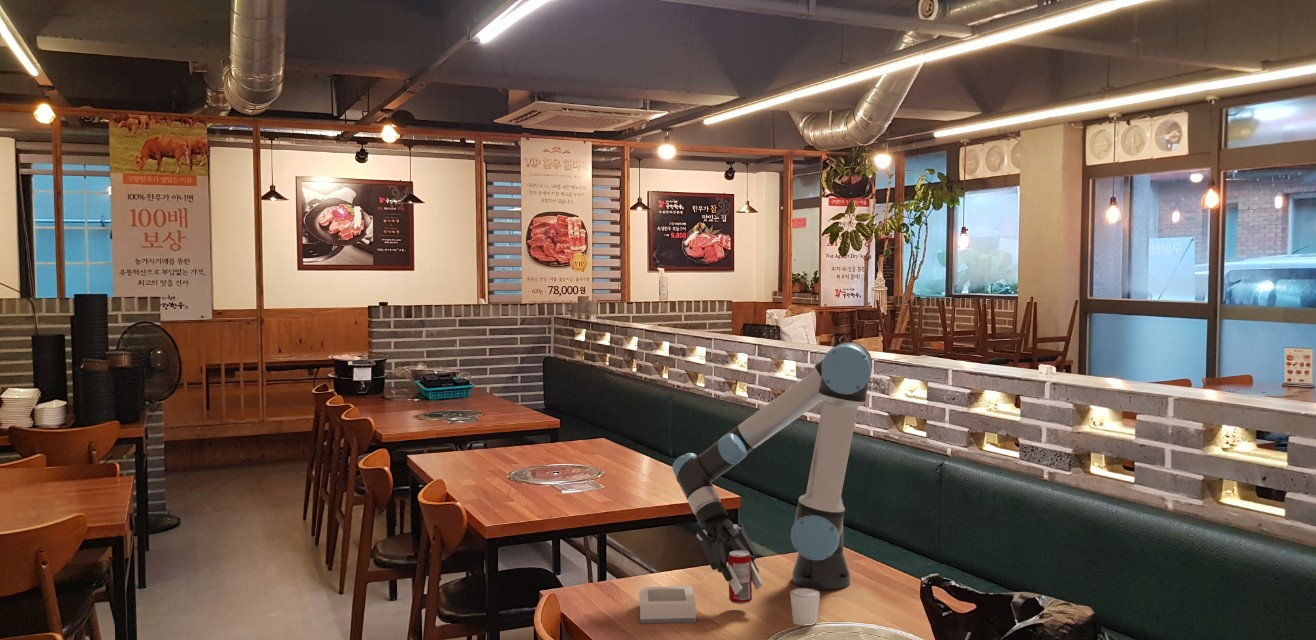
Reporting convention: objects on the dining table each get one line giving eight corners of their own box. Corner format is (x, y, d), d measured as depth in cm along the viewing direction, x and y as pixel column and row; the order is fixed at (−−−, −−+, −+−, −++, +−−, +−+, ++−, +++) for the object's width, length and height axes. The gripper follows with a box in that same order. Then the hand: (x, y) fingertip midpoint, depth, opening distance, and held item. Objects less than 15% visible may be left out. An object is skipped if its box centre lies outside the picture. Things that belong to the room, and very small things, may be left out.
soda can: (739, 595, 236) (738, 547, 236) (756, 600, 232) (755, 551, 232) (724, 601, 232) (723, 552, 232) (741, 606, 228) (739, 556, 228)
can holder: (691, 604, 237) (691, 586, 237) (695, 622, 224) (695, 603, 224) (639, 605, 237) (639, 587, 237) (640, 623, 224) (640, 604, 224)
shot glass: (819, 627, 220) (819, 597, 219) (789, 626, 221) (789, 595, 221) (820, 617, 226) (820, 588, 226) (791, 616, 228) (790, 586, 228)
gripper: (731, 512, 250) (773, 590, 236) (672, 522, 240) (711, 604, 226) (743, 495, 245) (786, 573, 231) (683, 505, 235) (724, 588, 222)
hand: (749, 588), depth 229 cm, fingers closed on soda can, 5 cm apart
